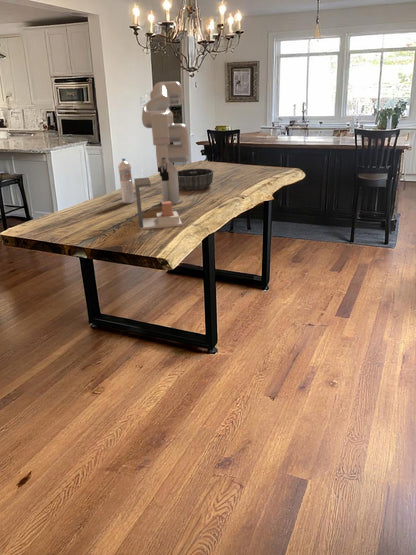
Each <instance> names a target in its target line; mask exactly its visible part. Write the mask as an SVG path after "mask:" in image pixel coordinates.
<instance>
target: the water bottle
mask: <svg viewBox="0 0 416 555" xmlns="http://www.w3.org/2000/svg"><path fill="white" fill-rule="evenodd" d="M131 168H132V166H131V165H130V163H129V162H127V161H126V158H121V162H120V163H119V165H118V172H119V182H120V190H121V191H120V192H121V198H122V204H124V205H130V204H131V205H132V204H134V203H135V193H134V186H133V185H134V184H133V176H132V169H131Z"/></svg>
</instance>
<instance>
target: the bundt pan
mask: <svg viewBox="0 0 416 555" xmlns="http://www.w3.org/2000/svg"><path fill="white" fill-rule="evenodd" d="M177 171H178V184H179V190H184V191H193V190H194V191H197V190H205V189H207V188H209V187H210V186H211V185H212V183H213V178H214V172H215V170H213V169H211V168H189V169H182V170H177Z"/></svg>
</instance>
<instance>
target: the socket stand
mask: <svg viewBox="0 0 416 555" xmlns="http://www.w3.org/2000/svg"><path fill="white" fill-rule="evenodd" d="M172 215H173V216H166V217H163V214H162V211H161V212H156V217H146V218H142V220H143V227H142V228H140V225H138V226H139V230H140V231H141V230H151V229H152V230H153V229H161V228H171V227H173V228H174V227H181V226H183V222H182V221H181V219H180V215H179V213H178V212H177V210H174V211H173V210H172Z"/></svg>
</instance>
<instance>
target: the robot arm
mask: <svg viewBox="0 0 416 555" xmlns="http://www.w3.org/2000/svg"><path fill="white" fill-rule="evenodd" d="M149 97H150V100H149V101H147V102H146V103H145V104H143V107H142V113H141V114H142V115H141V122H142V125H143V127H144V128H146V129H151V133H152V145H153V146H155V156H156V165H157V166H156V167H158V168H159V176H160V181H161V182H160V183H161V192H162V199H161V200H159V201H160V204H161V205H162V203H161V202H165V201H171V203H172V205H179V204H181V203H183V199H182V198H181V197H180V188H179V184H178V171H179V170H178V169H177V167H176V166H175V165H174V163H186V162H189V160H190V143H189V142H190V140H189V131H188V127H187V125H186V124H184V123H174V114H173V112H172V111H171V109H170V108H169V107H170V106H181V105H182V104H183V103H184V99H185V98H184V97H185V96H184V90H183V87H182V84H181V83H180V82H179V81H174V80H173V81H159V82H157V83H155V85H153V88H152V90H151V92H150V93H149ZM171 143H178V144H171Z"/></svg>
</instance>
